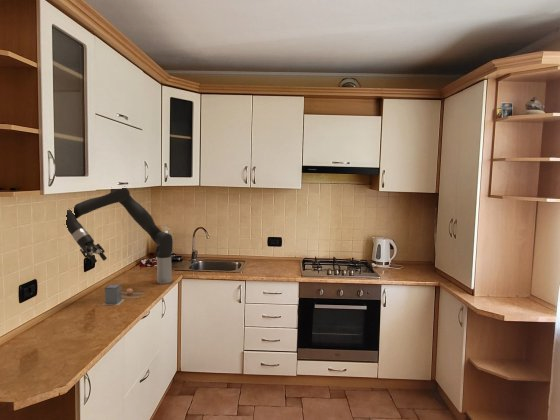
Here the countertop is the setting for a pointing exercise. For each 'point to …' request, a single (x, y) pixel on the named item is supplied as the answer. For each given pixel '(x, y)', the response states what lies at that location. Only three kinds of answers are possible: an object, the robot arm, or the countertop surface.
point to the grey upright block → (112, 294)
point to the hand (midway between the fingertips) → (100, 261)
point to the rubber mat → (115, 304)
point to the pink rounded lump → (129, 292)
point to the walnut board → (135, 295)
